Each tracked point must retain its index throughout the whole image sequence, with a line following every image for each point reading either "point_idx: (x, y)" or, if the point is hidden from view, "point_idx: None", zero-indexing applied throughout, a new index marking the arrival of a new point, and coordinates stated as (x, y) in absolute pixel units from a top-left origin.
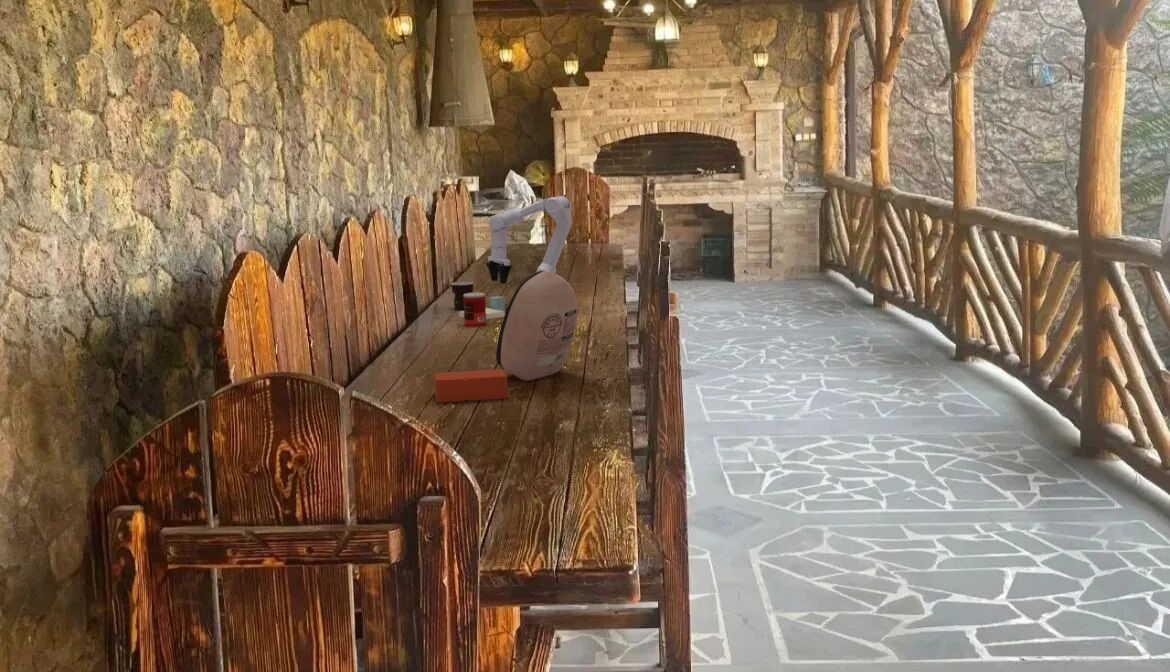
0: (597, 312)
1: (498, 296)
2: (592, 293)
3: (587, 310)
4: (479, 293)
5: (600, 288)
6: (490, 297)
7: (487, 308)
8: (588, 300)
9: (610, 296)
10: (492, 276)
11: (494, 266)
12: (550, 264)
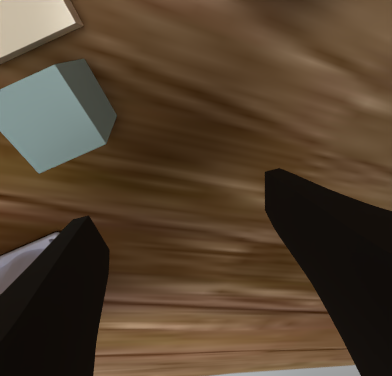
0: None
1: (86, 142)
2: (296, 347)
3: None
4: None
5: (334, 353)
6: (45, 69)
7: (37, 29)
8: (219, 346)
9: (243, 367)
10: (289, 198)
11: (380, 331)
12: None
